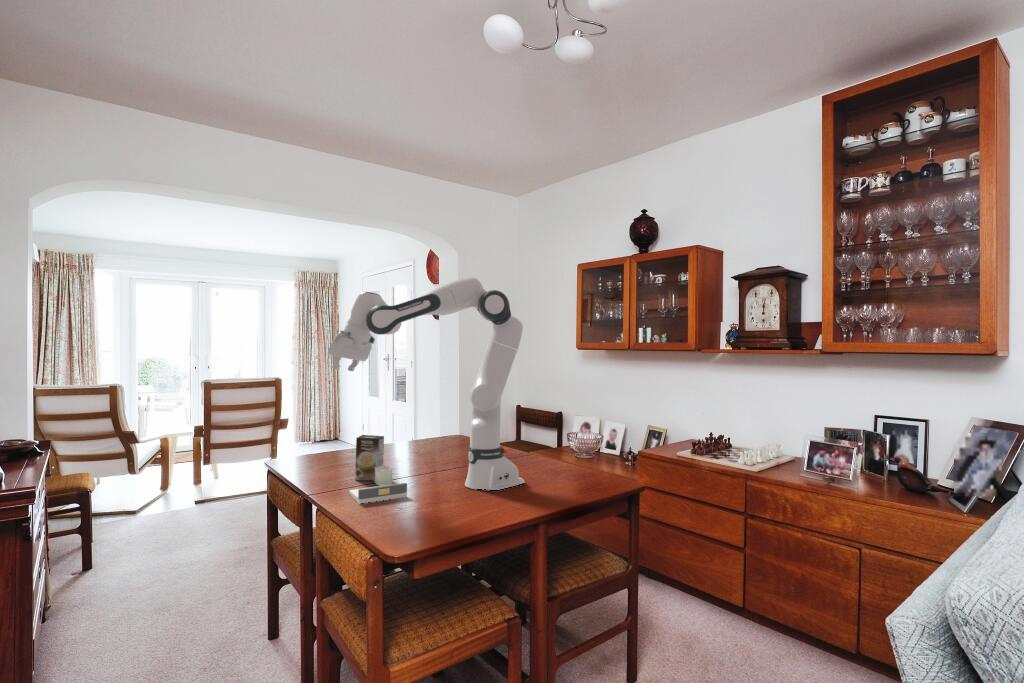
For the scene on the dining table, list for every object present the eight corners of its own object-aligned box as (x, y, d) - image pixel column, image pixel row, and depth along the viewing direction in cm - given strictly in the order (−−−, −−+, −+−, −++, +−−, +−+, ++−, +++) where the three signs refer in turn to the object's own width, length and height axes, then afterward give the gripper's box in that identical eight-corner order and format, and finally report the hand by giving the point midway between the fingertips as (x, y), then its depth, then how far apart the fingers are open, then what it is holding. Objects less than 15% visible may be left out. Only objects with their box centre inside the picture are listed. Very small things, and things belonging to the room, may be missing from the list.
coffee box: (354, 480, 191) (355, 437, 191) (360, 475, 197) (361, 434, 197) (377, 481, 190) (378, 438, 190) (383, 477, 196) (384, 435, 196)
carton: (385, 481, 190) (385, 465, 190) (391, 486, 184) (392, 469, 184) (374, 483, 188) (375, 467, 188) (380, 487, 182) (381, 471, 182)
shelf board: (394, 488, 181) (394, 475, 181) (407, 497, 171) (407, 483, 171) (349, 494, 173) (349, 481, 173) (359, 504, 162) (359, 490, 162)
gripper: (346, 332, 173) (332, 370, 173) (377, 340, 193) (365, 374, 192) (331, 326, 175) (318, 364, 175) (364, 335, 195) (351, 369, 194)
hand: (342, 369), depth 184 cm, fingers open, 8 cm apart
